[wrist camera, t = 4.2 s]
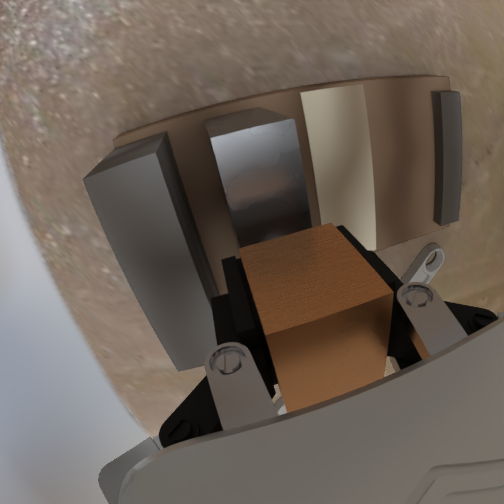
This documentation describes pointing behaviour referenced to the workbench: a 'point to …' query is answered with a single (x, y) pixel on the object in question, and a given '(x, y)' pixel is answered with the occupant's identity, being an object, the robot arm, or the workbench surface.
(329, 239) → the sliding jaw
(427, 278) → the adjustable wrench
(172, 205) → the bench vise
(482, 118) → the workbench surface
